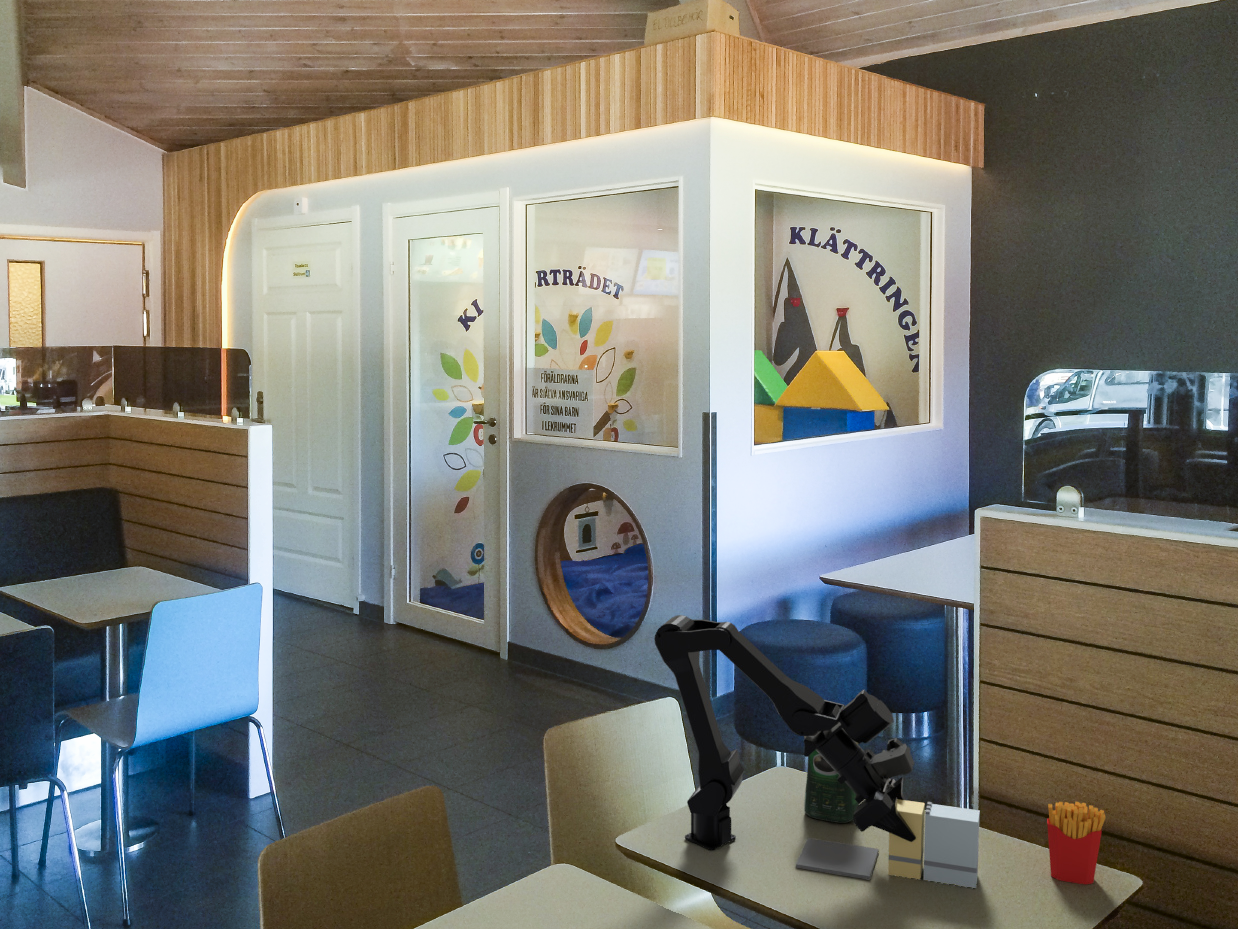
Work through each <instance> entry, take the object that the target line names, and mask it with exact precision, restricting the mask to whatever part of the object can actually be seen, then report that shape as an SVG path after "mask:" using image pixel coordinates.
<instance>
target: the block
mask: <svg viewBox="0 0 1238 929" xmlns="http://www.w3.org/2000/svg"><path fill="white" fill-rule="evenodd" d="M925 805H926V804H925V802H919V801H913V800H912V801H911V800H907V799H906V800H899V799H897V810H898V812H899V813H900V815H901V816H902V817H903V819H904V820H905V822H906V823H907V825H908V826H909V827H910V829H911V830H912V832H913V833H914V835H915V836H916V839H915V840H914V841H913V842H909V841H907V840H905V839H903V838H901V837H898V836H896V835H894V834H892V833H889V832H888V833H889V834H888V858H887V859H888V864H887V866H888V867H887V868H888V872H887V875H888V876H893V875H896V876H895V877H899V876H902V877H901V878H905V877H907V878H906V879H911V878H916V879H915V880H917V879H920V878H921V877H922V873H923V870H924V844H925V813H926V807H925ZM922 869H923V870H922ZM920 880H921V879H920Z"/></svg>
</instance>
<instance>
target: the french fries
mask: <svg viewBox="0 0 1238 929" xmlns="http://www.w3.org/2000/svg"><path fill="white" fill-rule="evenodd" d="M1074 802H1075V803H1069V802H1067V801H1058V802H1055V809H1053V804H1052V803H1048V804H1047V805H1048V806H1047V807H1048V815H1049V817H1048V818H1046V819H1047V821H1046V822H1047V824H1046V825H1047V841H1048V853H1049V867H1050V877H1052V878H1054V879H1055V880H1058V881H1061V882H1066V883H1067V882H1068V883H1073V884H1080V885H1091V884H1094V880H1095V874H1096V869H1097V863H1098V857H1099V852H1100V845H1101V838H1102V833H1103V832H1102V830H1103V829H1102V828H1103V825H1104V822H1105V820H1106V819H1107V818H1106V814H1105V810H1103V809H1100V810H1099V808H1098V807H1094V805H1090V804H1089V806H1087V803H1086V802H1082V803H1081V802H1079V801H1074Z"/></svg>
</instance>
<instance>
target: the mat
mask: <svg viewBox="0 0 1238 929" xmlns="http://www.w3.org/2000/svg"><path fill="white" fill-rule="evenodd" d="M879 850H880V848H875V847H869V846H863V845H857V844H856V845H855V844H852V843H851V844H850V843H843V842H837V841H831V840H823V839H816V838H811V837H807V839H806V841H805V843H804V845H803V847H802V850H801V852H800V853H799V856H798V858H797V861H796V863H795V868H796V869H801V870H802V869H803V870H806V871H807V870H809V871H815V872H820V873H827V874H833V875H839V876H844V877H845V876H846V877H851V878H856V879H863V880H870V881H871V878H872V875H873V871H874V868H875V866H876V861H877V858H878V856H879V853H878V852H879Z"/></svg>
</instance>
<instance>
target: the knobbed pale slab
mask: <svg viewBox="0 0 1238 929" xmlns="http://www.w3.org/2000/svg"><path fill="white" fill-rule="evenodd" d="M980 811H981V810H978V809H973V808H972V809H971V808H966V807H964V808H963V807H955V806H949V805H943V804H942V805H941V804H936V803H935V804H934V803H933V802H932V801H927V805H926V807H925V813H924V852H923V881H924V880H928V881H927V882H930V881H935V882H934V883H937V882H941V883H940V884H943V883H948V884H947V885H949V884H956V885H959V886H958V887H961V886H965V887H964V888H967V887H972V888H971V889H973V888H976V889H977V885H976V884H978V877H977V876H979V875H978V873H979V872H978V871H979V849H980V848H979V840H980V839H979V838H980V814H981V813H980Z"/></svg>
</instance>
